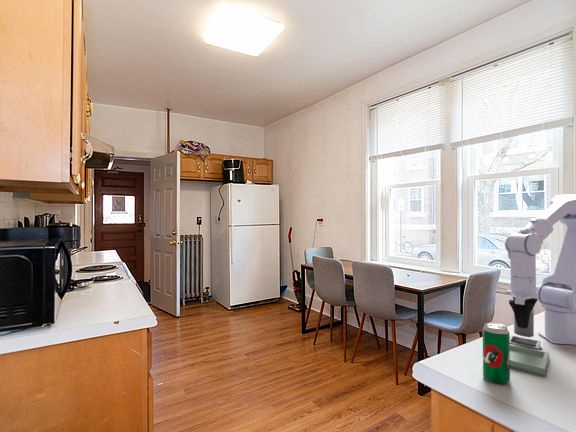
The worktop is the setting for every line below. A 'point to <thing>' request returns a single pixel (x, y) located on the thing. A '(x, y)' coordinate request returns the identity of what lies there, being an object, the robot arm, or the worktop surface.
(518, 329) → the cylinder
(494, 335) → the soda can
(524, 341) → the collar
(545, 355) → the tray
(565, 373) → the worktop surface
